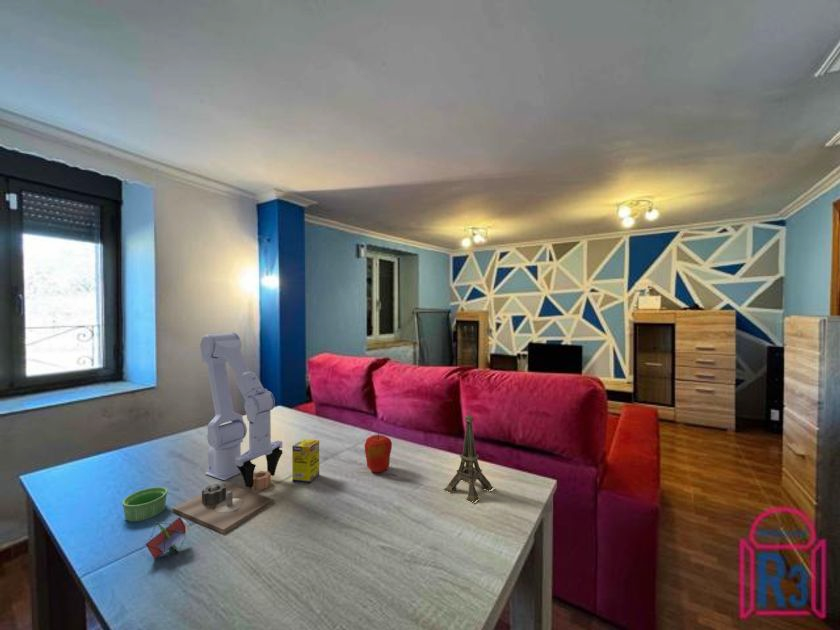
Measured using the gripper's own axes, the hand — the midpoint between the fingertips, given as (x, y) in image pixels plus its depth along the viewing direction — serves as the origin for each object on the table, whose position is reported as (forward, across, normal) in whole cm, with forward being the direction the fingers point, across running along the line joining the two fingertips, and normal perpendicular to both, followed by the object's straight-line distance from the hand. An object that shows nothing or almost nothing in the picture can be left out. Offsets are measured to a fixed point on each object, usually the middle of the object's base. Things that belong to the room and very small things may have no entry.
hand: (260, 480), depth 101 cm
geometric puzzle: (+2, -28, -6) cm, 29 cm away
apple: (+2, +23, -26) cm, 35 cm away
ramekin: (+2, -22, +15) cm, 27 cm away
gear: (+1, 0, 0) cm, 1 cm away
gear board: (+1, -12, -1) cm, 12 cm away
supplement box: (+2, +9, -9) cm, 13 cm away
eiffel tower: (+2, +24, -56) cm, 61 cm away
